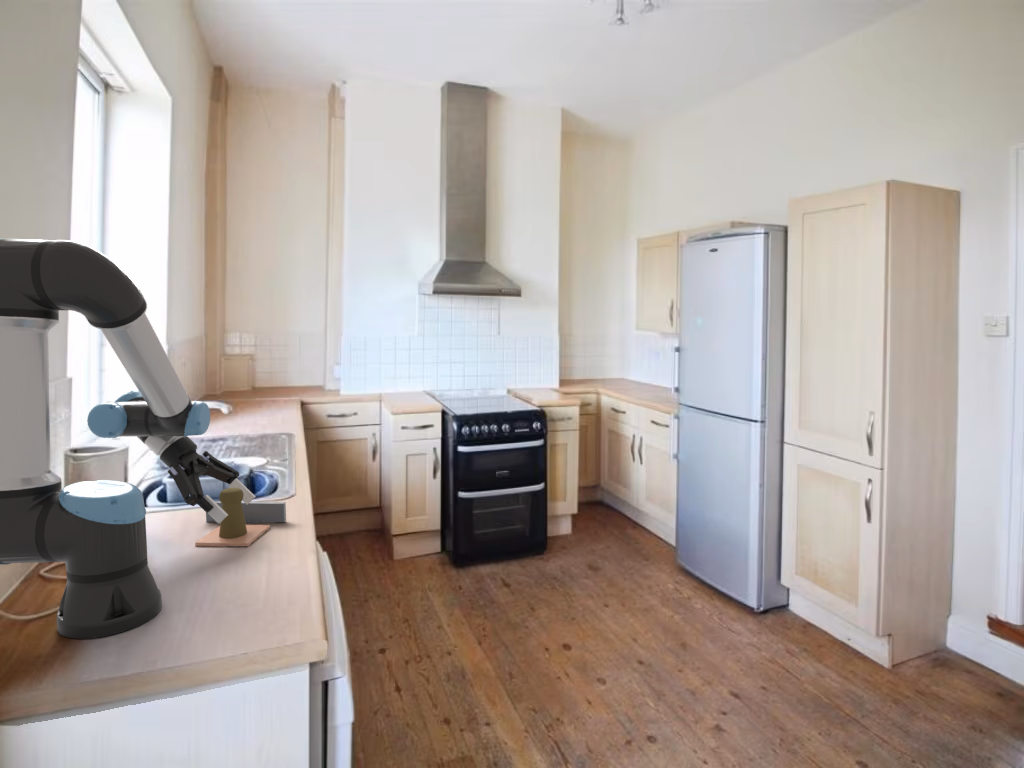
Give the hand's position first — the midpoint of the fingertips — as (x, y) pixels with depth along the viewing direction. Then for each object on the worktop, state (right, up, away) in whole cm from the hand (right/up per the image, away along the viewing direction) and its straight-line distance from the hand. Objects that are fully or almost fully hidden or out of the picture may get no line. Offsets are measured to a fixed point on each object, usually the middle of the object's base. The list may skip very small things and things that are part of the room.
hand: (238, 509), depth 141 cm
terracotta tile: (-1, -7, +1) cm, 7 cm away
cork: (-1, -6, 0) cm, 6 cm away
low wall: (-3, -5, +11) cm, 13 cm away
